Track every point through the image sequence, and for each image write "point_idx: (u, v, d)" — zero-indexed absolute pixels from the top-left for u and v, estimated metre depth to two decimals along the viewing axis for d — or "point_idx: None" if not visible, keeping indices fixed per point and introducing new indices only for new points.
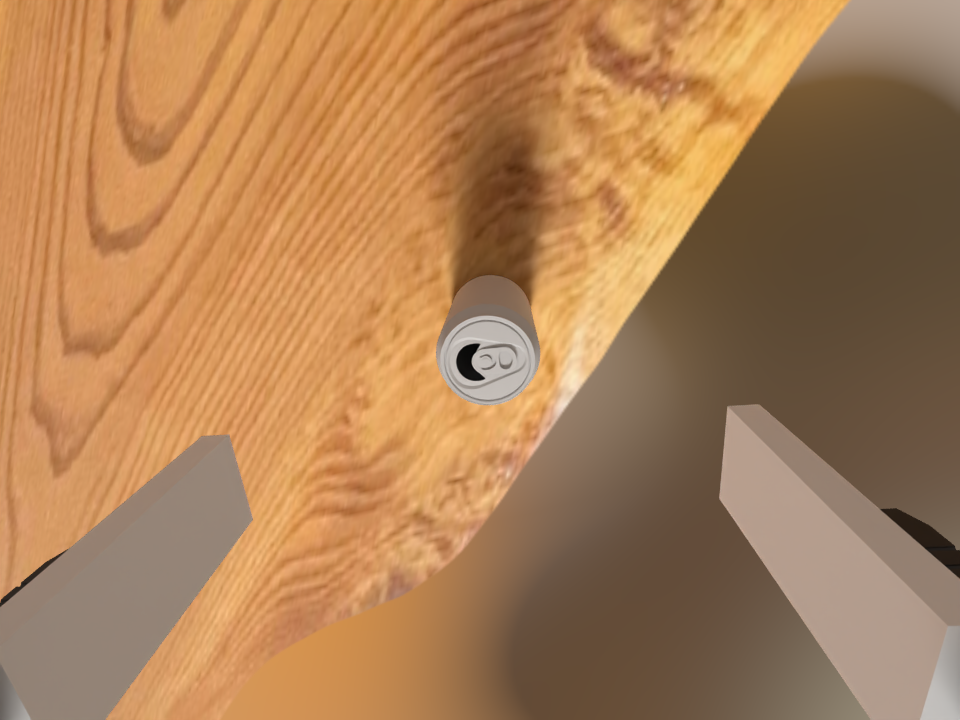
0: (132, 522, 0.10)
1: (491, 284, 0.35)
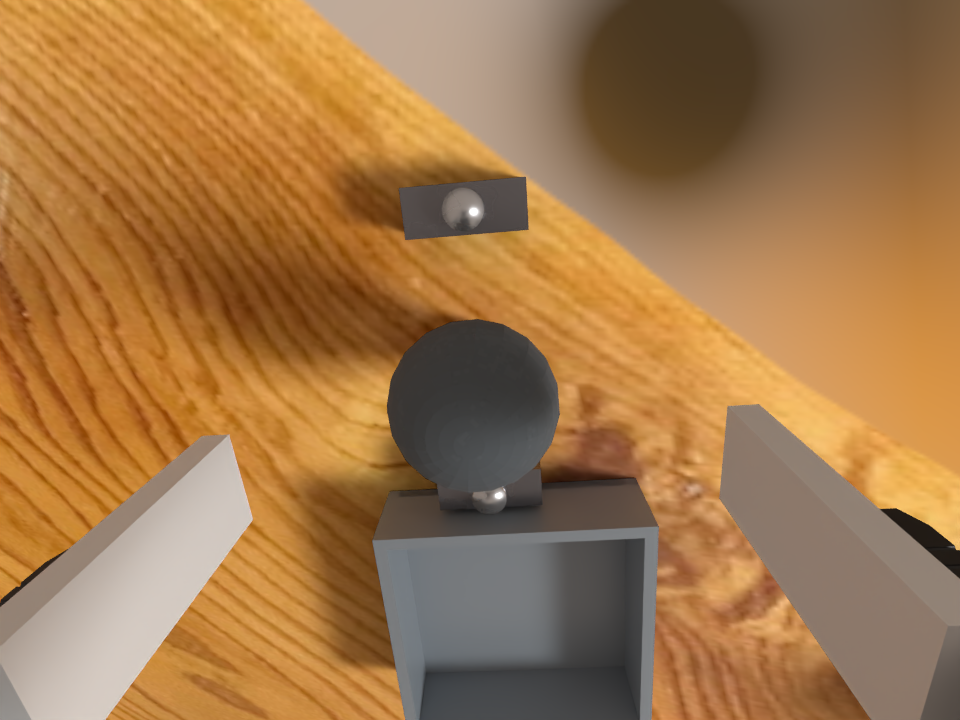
0: (132, 522, 0.10)
1: None
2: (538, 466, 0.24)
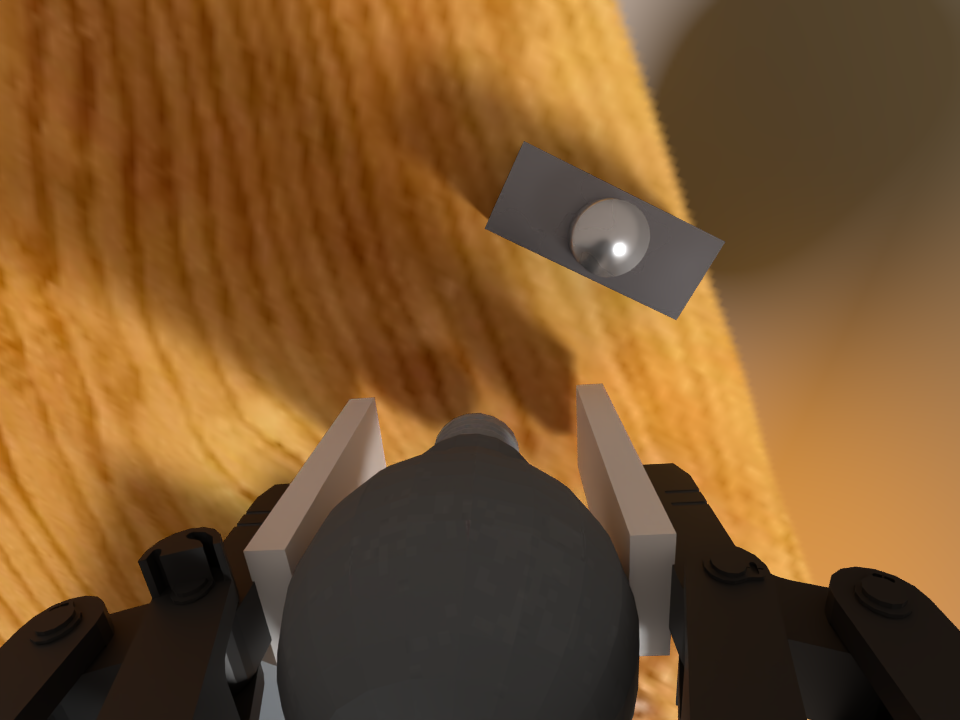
0: (334, 462, 0.11)
1: None
2: None
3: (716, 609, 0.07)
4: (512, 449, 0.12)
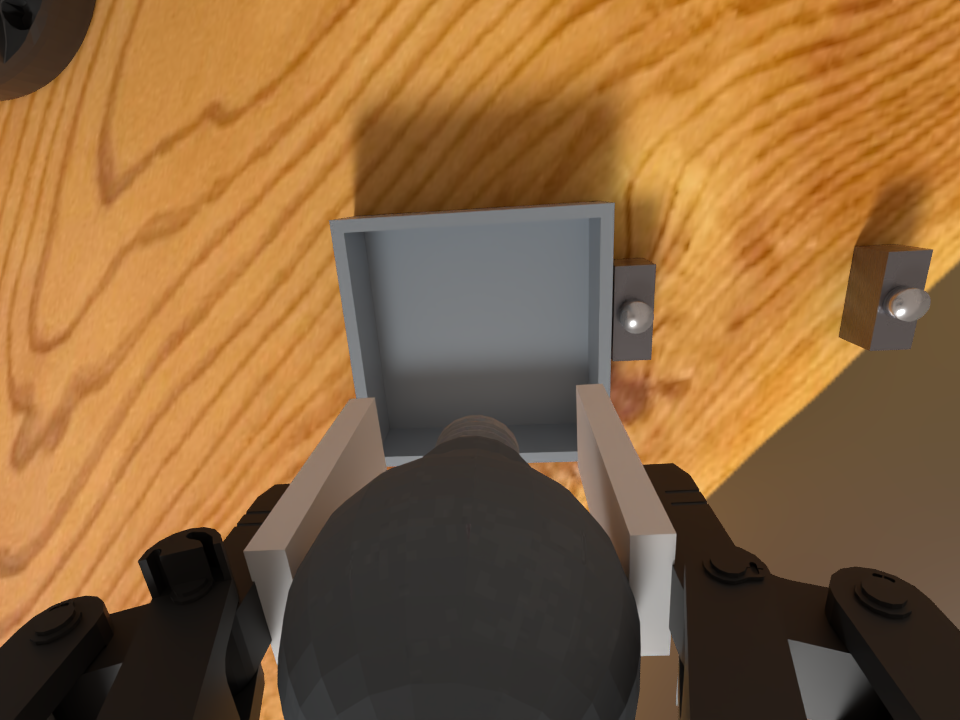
0: (334, 462, 0.11)
1: None
2: None
3: (716, 609, 0.07)
4: (512, 451, 0.12)
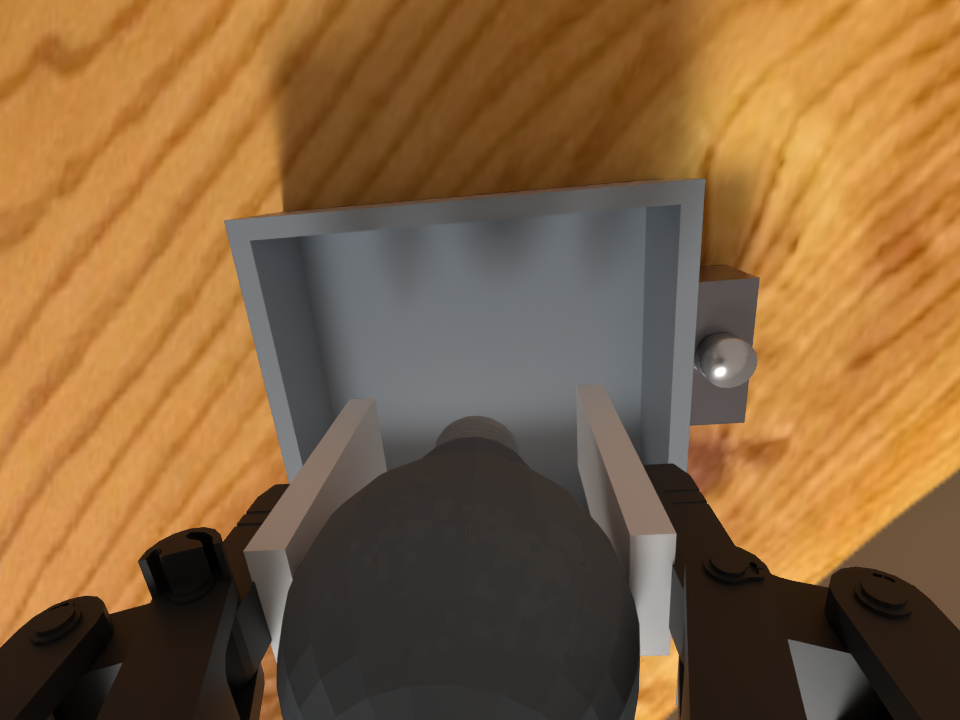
0: (334, 462, 0.11)
1: None
2: None
3: (716, 609, 0.07)
4: (512, 452, 0.12)
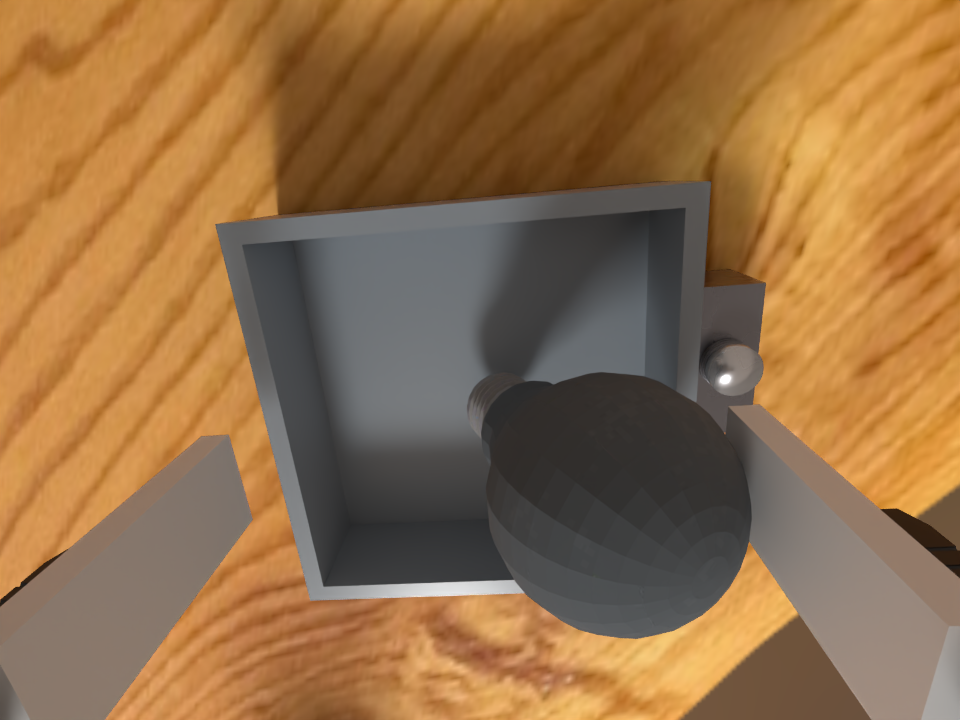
0: (131, 522, 0.10)
1: None
2: None
3: None
4: None
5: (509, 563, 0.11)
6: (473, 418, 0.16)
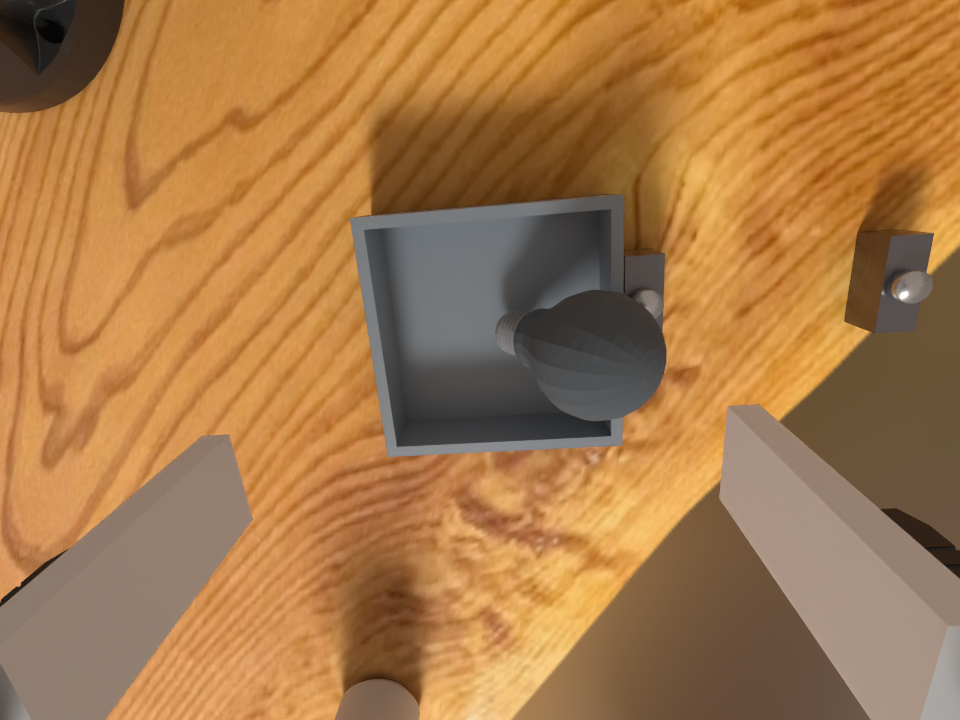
0: (132, 522, 0.10)
1: None
2: None
3: None
4: None
5: (555, 386, 0.21)
6: (502, 337, 0.27)
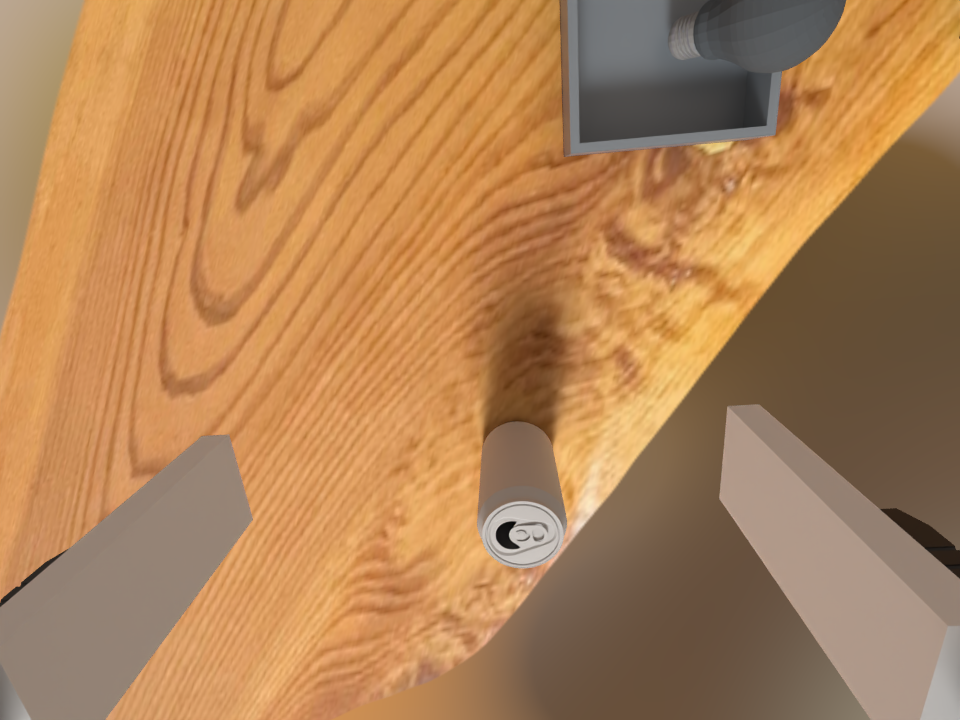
0: (132, 522, 0.10)
1: (521, 442, 0.40)
2: None
3: None
4: None
5: (758, 15, 0.26)
6: (679, 34, 0.31)
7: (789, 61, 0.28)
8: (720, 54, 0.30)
